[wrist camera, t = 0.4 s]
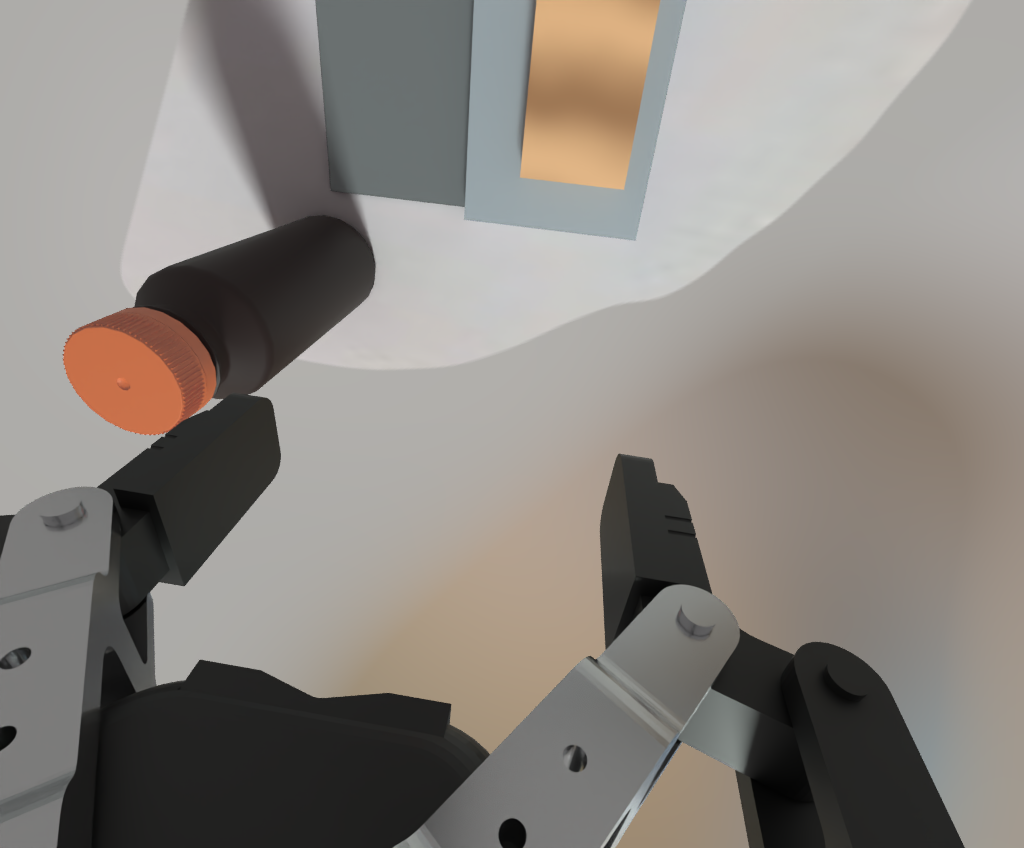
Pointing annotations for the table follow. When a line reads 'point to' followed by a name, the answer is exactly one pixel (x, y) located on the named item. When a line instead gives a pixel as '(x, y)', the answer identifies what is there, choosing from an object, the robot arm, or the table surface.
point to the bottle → (219, 323)
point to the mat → (397, 96)
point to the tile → (586, 89)
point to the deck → (501, 125)
